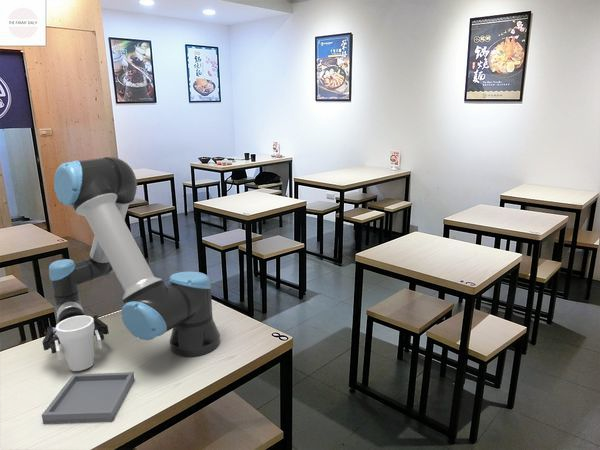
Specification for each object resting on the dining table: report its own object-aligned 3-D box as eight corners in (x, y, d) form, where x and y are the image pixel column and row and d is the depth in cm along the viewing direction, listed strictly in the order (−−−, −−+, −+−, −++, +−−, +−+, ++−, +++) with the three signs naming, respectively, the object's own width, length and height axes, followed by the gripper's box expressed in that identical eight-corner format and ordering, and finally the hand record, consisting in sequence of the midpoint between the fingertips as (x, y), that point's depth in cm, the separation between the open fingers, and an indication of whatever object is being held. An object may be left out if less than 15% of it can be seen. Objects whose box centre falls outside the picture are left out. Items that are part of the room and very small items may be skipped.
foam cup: (105, 363, 124) (99, 322, 121) (71, 378, 117) (64, 335, 114) (90, 352, 130) (84, 312, 127) (58, 365, 124) (50, 324, 120)
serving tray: (134, 380, 118) (133, 372, 117) (112, 421, 102) (111, 412, 102) (74, 382, 117) (73, 374, 117) (43, 424, 102) (41, 415, 101)
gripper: (110, 319, 143) (124, 349, 125) (32, 338, 132) (35, 375, 114) (107, 298, 141) (121, 326, 123) (28, 316, 130) (30, 349, 112)
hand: (80, 349), depth 118 cm, fingers closed on foam cup, 9 cm apart
